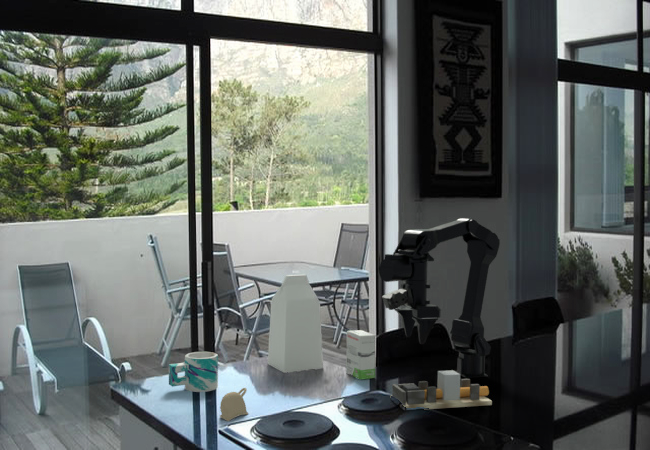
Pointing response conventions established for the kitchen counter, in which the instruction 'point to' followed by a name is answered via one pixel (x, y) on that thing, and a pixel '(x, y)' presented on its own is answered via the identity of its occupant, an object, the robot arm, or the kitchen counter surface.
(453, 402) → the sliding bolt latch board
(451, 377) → the toy hammer
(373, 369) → the ink box
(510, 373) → the kitchen counter surface
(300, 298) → the milk
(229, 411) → the decorative ornament
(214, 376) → the mug
